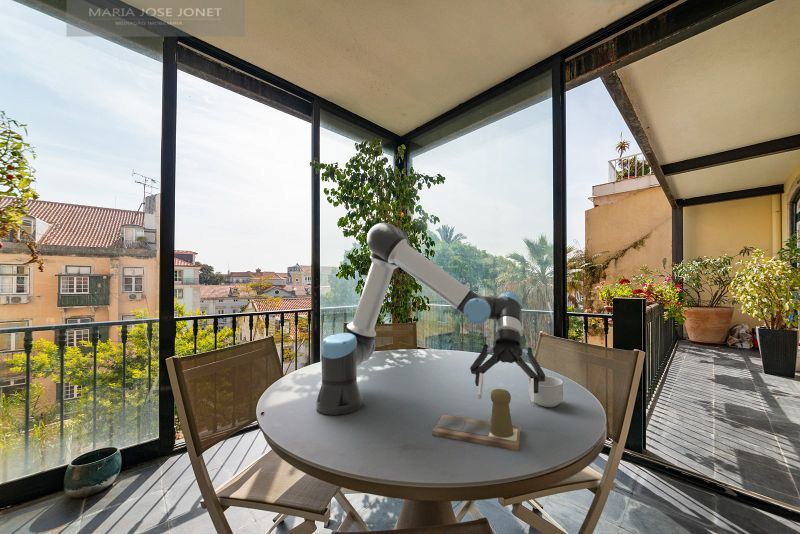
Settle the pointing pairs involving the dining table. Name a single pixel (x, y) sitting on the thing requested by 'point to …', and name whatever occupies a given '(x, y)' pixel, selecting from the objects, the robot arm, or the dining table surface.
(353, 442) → the dining table surface
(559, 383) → the teacup
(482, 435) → the brown frame
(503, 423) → the cork
